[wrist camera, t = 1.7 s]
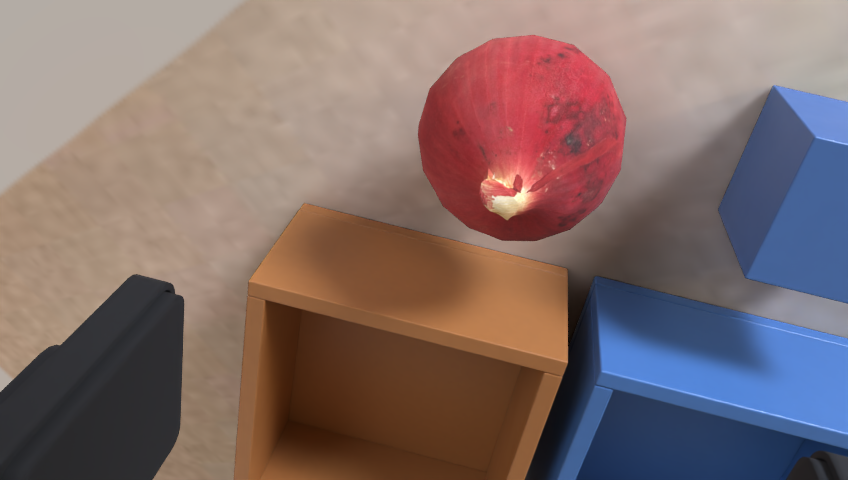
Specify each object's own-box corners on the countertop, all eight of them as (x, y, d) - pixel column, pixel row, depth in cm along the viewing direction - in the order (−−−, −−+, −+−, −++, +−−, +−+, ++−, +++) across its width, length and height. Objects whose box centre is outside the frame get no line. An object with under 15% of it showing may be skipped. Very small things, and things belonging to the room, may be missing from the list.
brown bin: (303, 202, 28) (247, 280, 23) (568, 268, 27) (568, 362, 22) (279, 416, 33) (230, 515, 29) (497, 474, 33) (485, 585, 28)
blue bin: (594, 274, 27) (600, 370, 22) (871, 343, 27) (939, 457, 22) (519, 480, 33) (511, 592, 28) (746, 540, 32) (778, 665, 27)
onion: (575, -25, 22) (579, 40, 15) (643, 138, 24) (674, 260, 17) (409, 58, 24) (348, 147, 17) (485, 202, 26) (457, 332, 20)
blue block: (772, 84, 23) (815, 136, 19) (918, 118, 23) (991, 177, 19) (717, 209, 25) (744, 278, 21) (848, 241, 25) (900, 317, 21)
